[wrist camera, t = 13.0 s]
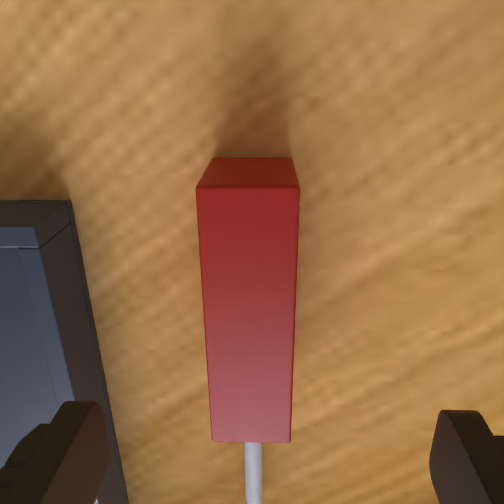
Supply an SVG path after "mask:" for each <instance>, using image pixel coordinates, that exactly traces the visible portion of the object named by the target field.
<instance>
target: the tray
mask: <svg viewBox="0 0 504 504" xmlns="http://www.w3.org/2000/svg"><path fill="white" fill-rule="evenodd" d="M65 401H98V402H99V403H100V405H101V408H102V412H103V417H104V421H105V426H106V431H107V435H108V440H109V444H110V461H109V466H108V470H107V473H106V476H105V479H104V481H103V484H102V486H101V489H100V491H99V494H98V496H97V498H96V501H95V503H94V504H129V503H128V498H127V492H126V487H125V482H124V477H123V471H122V466H121V461H120V456H119V450H118V445H117V440H116V435H115V429H114V424H113V419H112V414H111V408H110V403H109V398H108V393H107V387H106V382H105V377H104V372H103V366H102V361H101V356H100V351H99V345H98V340H97V335H96V330H95V325H94V319H93V314H92V309H91V304H90V298H89V293H88V288H87V283H86V277H85V272H84V267H83V262H82V256H81V251H80V246H79V241H78V235H77V230H76V225H75V220H74V214H73V209H72V204H71V201H70V200H23V201H0V469H1V468H2V467H4V466H5V462H6V460H7V459H8V457H9V456H10V454H11V453H12V451H13V450H14V448H15V447H16V445H17V444H18V442H19V441H20V440H21V439H23V438H24V437H25V436H26V435H27V434H28V433H29V432H31V431H32V430H33V429H34V428H35V427H36V426H38V425H39V424H40V423H42V424H50V422H51V421H52V419H53V417H54V416H55V414H56V413H57V411H58V409H59V408H60V406H61V405H62V404H63V403H64V402H65Z"/></svg>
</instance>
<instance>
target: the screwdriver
mask: <svg viewBox="0 0 504 504" xmlns="http://www.w3.org/2000/svg"><path fill="white" fill-rule="evenodd" d="M195 189H196V204H197V219H198V235H199V250H200V265H201V280H202V296H203V311H204V326H205V342H206V357H207V372H208V387H209V403H210V418H211V433H212V441H213V442H244V458H245V500H246V504H262V443H290V441H291V418H292V390H293V363H294V336H295V309H296V282H297V254H298V227H299V200H300V187H299V183H298V179H297V175H296V172H295V168H294V164H293V160H292V159H291V158H213V159H212V160H211V161H210V163H209V165H208V167H207V168H206V170H205V172H204V174H203V175H202V177H201V179H200V181H199V182H198V184H197V186H196V188H195Z"/></svg>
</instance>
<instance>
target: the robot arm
mask: <svg viewBox="0 0 504 504" xmlns="http://www.w3.org/2000/svg"><path fill="white" fill-rule="evenodd" d="M109 461H110V444H109V440H108V435H107V431H106V426H105V421H104V417H103V412H102V408H101V405H100V403H99V402H98V401H65V402H64V403H63V404H62V405H61V406H60V408H59V409H58V411H57V413H56V414H55V416H54V417H53V419H52V421H51V422H50V424H42V423H40V424H39V425H38V426H36V427H35V428H34V429H33V430H32V431H31V432H29V433H28V434H27V435H26V436H25V437H24V438H23V439H21V440H20V441H19V442H18V444H17V445H16V447H15V448H14V450H13V451H12V453H11V454H10V456H9V457H8V459H7V460H6V462H5V466H4V467H2V468H1V469H0V504H94V503H95V501H96V498H97V496H98V494H99V491H100V489H101V486H102V484H103V481H104V479H105V476H106V473H107V470H108V466H109ZM429 465H430V474H431V479H432V483H433V486H434V489H435V492H436V494H437V497H438V500H439V503H440V504H504V436H493V434H492V432H491V431H490V429H489V427H488V425H487V424H486V422H485V420H484V418H483V417H482V415H481V414H480V413H479V412H478V411H476V410H441V411H440V413H439V415H438V420H437V424H436V429H435V434H434V438H433V443H432V448H431V452H430V459H429Z"/></svg>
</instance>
